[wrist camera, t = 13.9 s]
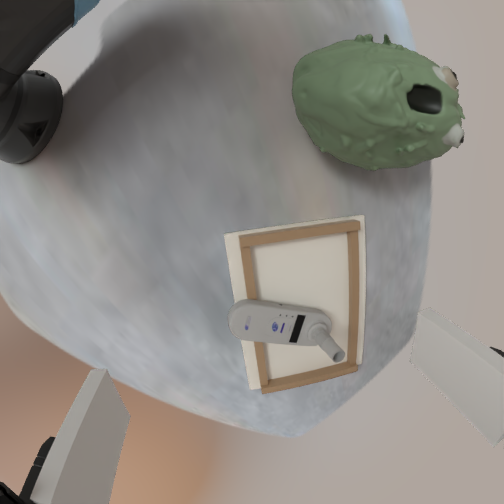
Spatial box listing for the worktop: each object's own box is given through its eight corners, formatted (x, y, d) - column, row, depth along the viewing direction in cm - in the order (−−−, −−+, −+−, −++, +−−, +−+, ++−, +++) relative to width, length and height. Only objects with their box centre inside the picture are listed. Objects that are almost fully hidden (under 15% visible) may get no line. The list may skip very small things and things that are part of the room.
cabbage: (272, 64, 32) (317, -22, 13) (388, 84, 35) (475, 45, 15) (274, 170, 36) (334, 154, 17) (393, 178, 38) (495, 182, 19)
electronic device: (245, 327, 28) (363, 338, 31) (231, 294, 37) (329, 308, 41) (234, 370, 28) (348, 374, 32) (223, 329, 38) (318, 339, 41)
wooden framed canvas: (223, 233, 37) (224, 237, 34) (361, 214, 39) (370, 216, 36) (249, 387, 43) (251, 397, 41) (359, 361, 45) (366, 369, 42)
